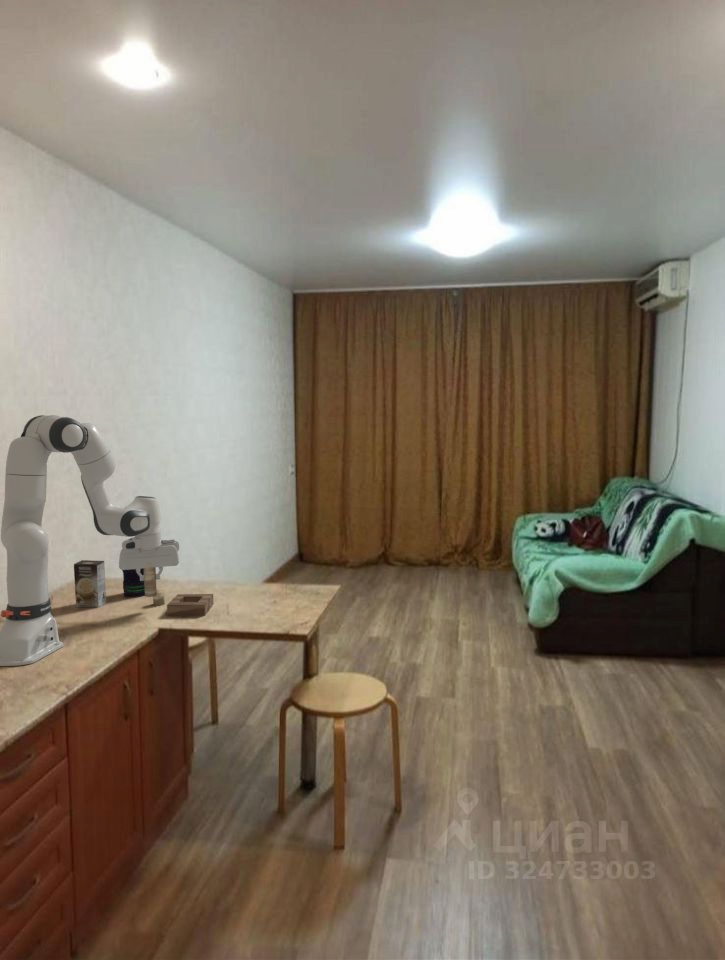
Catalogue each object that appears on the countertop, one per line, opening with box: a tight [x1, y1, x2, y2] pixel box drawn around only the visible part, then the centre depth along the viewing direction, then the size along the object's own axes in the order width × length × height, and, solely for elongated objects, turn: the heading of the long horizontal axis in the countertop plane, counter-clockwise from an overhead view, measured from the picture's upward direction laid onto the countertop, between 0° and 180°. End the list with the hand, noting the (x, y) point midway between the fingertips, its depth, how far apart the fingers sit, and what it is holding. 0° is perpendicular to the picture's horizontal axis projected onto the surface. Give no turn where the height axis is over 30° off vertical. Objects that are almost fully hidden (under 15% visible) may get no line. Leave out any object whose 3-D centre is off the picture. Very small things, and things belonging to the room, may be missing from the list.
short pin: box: [152, 588, 166, 607], centre depth 251 cm, size 4×4×5 cm
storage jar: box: [121, 568, 146, 598], centre depth 265 cm, size 10×10×15 cm
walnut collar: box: [166, 593, 215, 617], centre depth 243 cm, size 13×13×4 cm
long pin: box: [144, 563, 158, 598], centre depth 242 cm, size 4×4×12 cm
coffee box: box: [73, 559, 107, 608], centre depth 251 cm, size 9×6×16 cm
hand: (150, 579), depth 242 cm, fingers closed on long pin, 4 cm apart
